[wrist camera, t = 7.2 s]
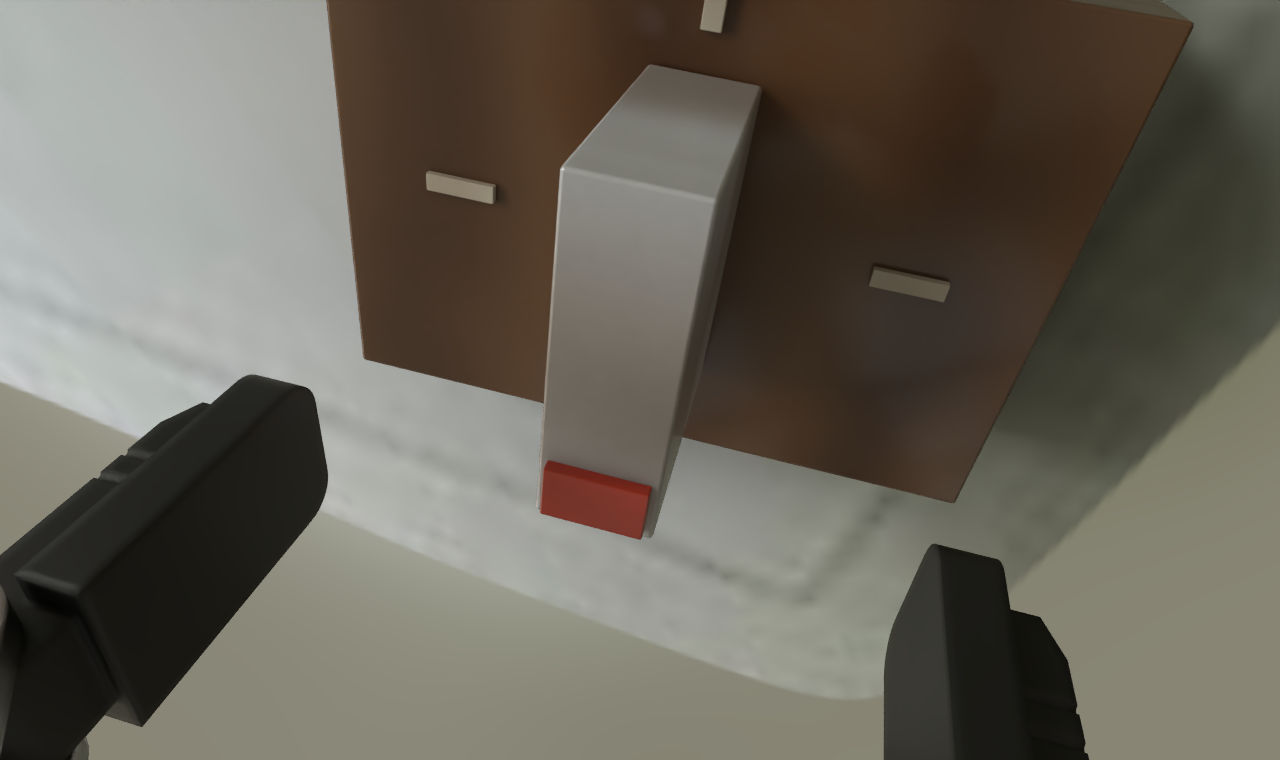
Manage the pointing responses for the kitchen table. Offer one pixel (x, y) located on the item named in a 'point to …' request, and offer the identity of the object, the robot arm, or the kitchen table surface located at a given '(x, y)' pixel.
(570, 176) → the tap lever
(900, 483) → the base
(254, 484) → the robot arm
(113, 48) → the kitchen table surface
